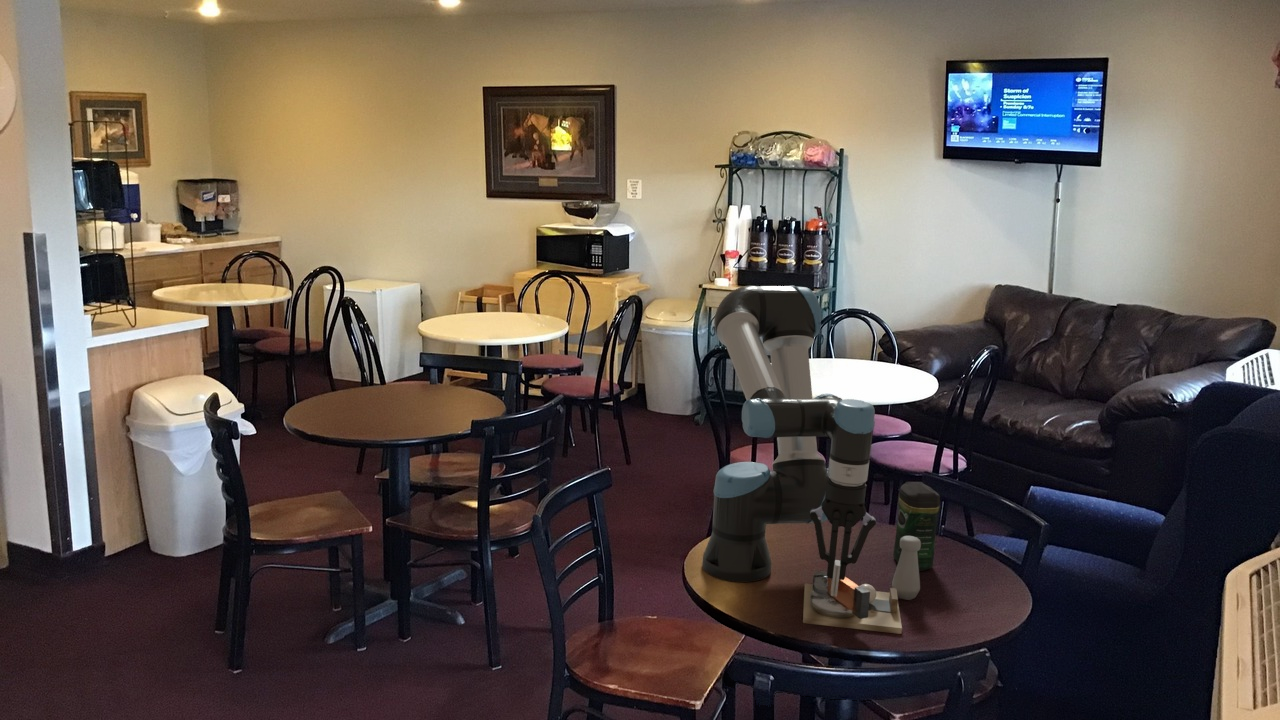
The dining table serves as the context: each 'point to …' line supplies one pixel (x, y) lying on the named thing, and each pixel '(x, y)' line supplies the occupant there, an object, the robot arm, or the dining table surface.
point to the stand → (879, 617)
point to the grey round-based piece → (839, 597)
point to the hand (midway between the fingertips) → (833, 593)
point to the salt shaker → (907, 569)
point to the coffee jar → (918, 520)
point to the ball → (872, 592)
